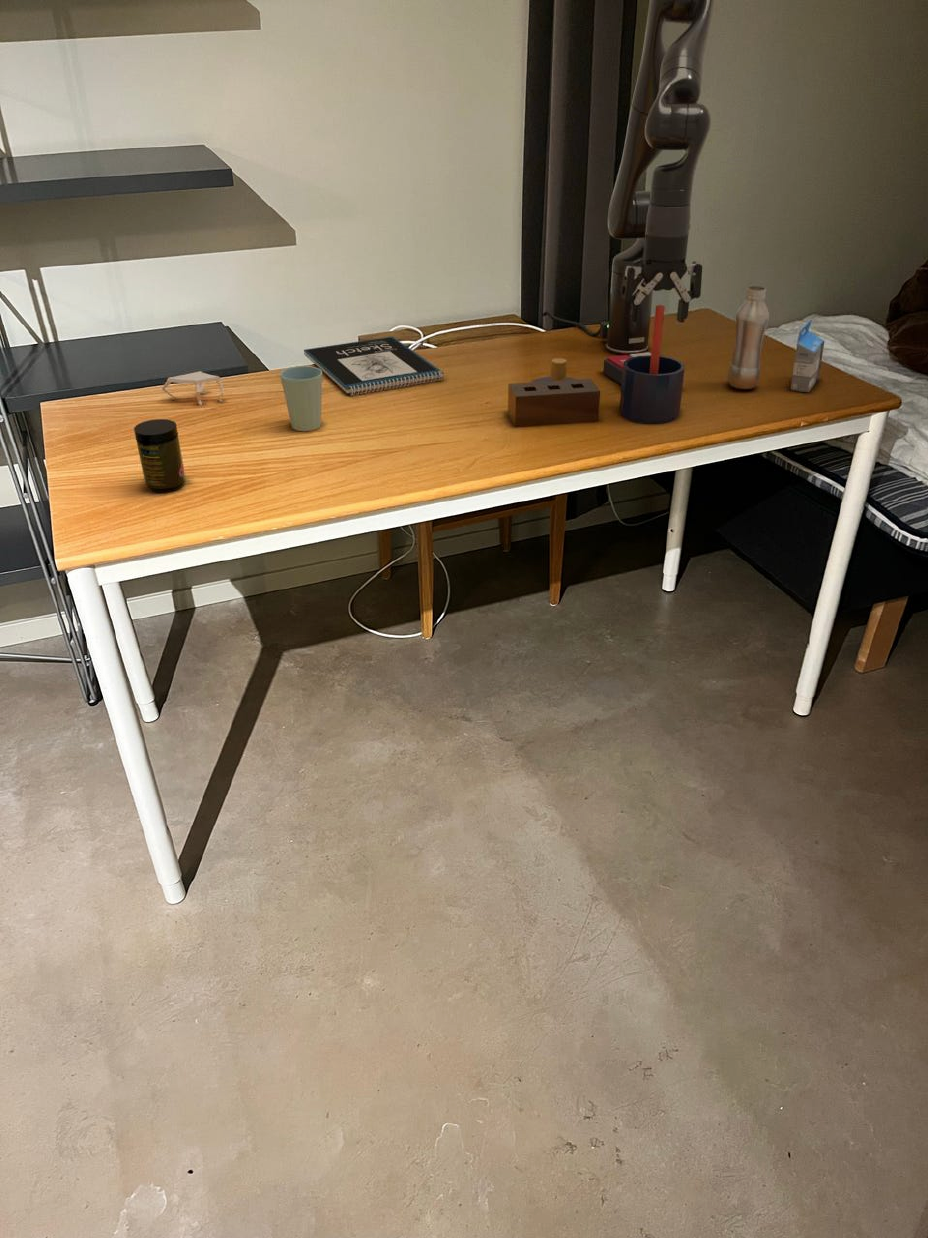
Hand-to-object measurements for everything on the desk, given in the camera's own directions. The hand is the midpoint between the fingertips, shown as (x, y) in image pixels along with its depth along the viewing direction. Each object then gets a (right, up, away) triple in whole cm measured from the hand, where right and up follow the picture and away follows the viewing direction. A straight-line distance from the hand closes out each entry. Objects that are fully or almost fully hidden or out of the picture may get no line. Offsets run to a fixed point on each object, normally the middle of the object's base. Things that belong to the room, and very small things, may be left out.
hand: (658, 322), depth 183 cm
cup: (-66, -18, +5) cm, 69 cm away
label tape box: (+34, -7, +22) cm, 41 cm away
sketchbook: (-56, 0, +33) cm, 65 cm away
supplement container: (-86, -32, -16) cm, 93 cm away
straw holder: (-19, -16, +8) cm, 26 cm away
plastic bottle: (+21, -7, +21) cm, 31 cm away
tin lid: (-17, -8, +19) cm, 26 cm away
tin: (0, -15, +10) cm, 18 cm away
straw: (0, -14, +9) cm, 17 cm away
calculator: (+1, -5, +24) cm, 25 cm away
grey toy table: (-90, -11, +18) cm, 93 cm away
